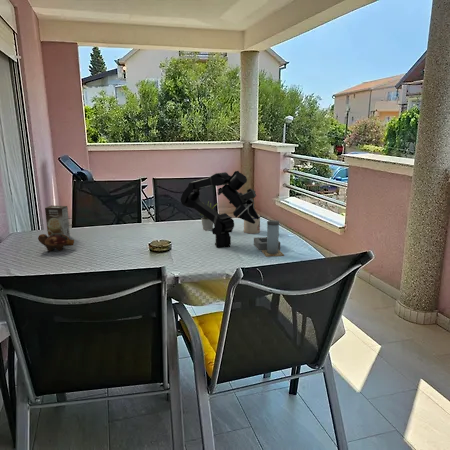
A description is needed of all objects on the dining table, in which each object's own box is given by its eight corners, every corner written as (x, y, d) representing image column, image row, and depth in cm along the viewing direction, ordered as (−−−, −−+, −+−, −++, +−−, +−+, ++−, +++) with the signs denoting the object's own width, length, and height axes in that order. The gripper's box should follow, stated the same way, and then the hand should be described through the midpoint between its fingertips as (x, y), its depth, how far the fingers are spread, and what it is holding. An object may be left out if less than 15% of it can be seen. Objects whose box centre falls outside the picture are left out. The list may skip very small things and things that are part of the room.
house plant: (188, 231, 212) (187, 201, 208) (197, 225, 225) (197, 197, 221) (213, 233, 208) (213, 203, 204) (221, 227, 221) (221, 198, 217)
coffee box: (47, 238, 198) (43, 207, 194) (54, 235, 204) (50, 205, 200) (64, 239, 197) (61, 208, 193) (70, 235, 203) (67, 205, 199)
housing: (259, 251, 178) (259, 243, 177) (253, 244, 187) (253, 237, 186) (280, 249, 179) (280, 242, 178) (273, 243, 189) (274, 236, 188)
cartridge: (268, 254, 171) (269, 223, 168) (265, 250, 176) (265, 220, 173) (279, 253, 172) (280, 222, 169) (276, 250, 177) (277, 220, 174)
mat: (266, 256, 170) (266, 255, 169) (261, 251, 177) (261, 250, 177) (284, 255, 171) (284, 254, 171) (278, 250, 179) (278, 249, 178)
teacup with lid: (261, 233, 206) (262, 212, 204) (244, 234, 206) (244, 212, 203) (257, 228, 218) (258, 207, 215) (241, 228, 217) (241, 208, 214)
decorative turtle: (39, 248, 182) (38, 231, 180) (74, 247, 187) (73, 230, 186) (37, 253, 173) (36, 235, 172) (74, 252, 178) (73, 234, 177)
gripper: (240, 186, 165) (266, 213, 165) (249, 180, 182) (272, 205, 182) (222, 203, 169) (247, 230, 169) (233, 196, 186) (255, 220, 186)
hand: (256, 220), depth 176 cm, fingers open, 9 cm apart
